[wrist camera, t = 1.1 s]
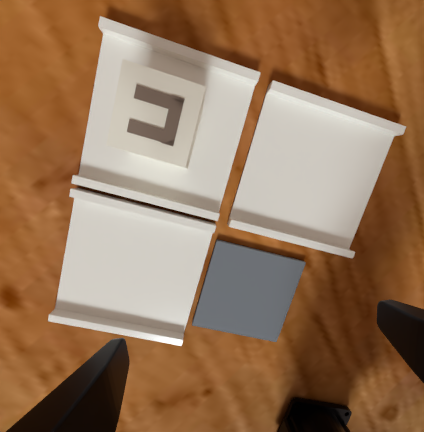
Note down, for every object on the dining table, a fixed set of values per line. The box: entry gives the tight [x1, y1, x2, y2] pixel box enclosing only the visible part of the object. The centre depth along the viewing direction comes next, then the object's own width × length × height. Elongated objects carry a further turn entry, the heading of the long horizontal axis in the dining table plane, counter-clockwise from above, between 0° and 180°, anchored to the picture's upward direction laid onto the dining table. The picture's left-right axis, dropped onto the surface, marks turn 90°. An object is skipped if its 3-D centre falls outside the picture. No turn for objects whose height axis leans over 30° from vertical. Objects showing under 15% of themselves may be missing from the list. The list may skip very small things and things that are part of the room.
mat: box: [192, 239, 305, 342], centre depth 20 cm, size 8×8×1 cm
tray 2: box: [48, 188, 216, 346], centre depth 18 cm, size 11×11×1 cm
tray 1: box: [72, 16, 260, 221], centre depth 16 cm, size 11×11×1 cm
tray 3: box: [227, 80, 406, 259], centre depth 18 cm, size 11×11×1 cm
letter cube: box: [106, 59, 206, 169], centre depth 15 cm, size 4×4×5 cm
